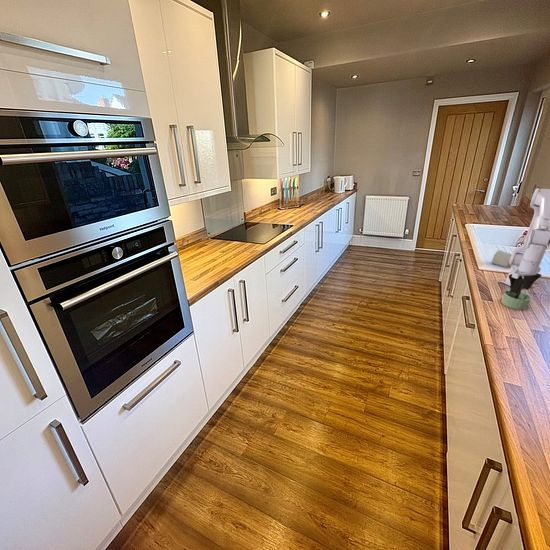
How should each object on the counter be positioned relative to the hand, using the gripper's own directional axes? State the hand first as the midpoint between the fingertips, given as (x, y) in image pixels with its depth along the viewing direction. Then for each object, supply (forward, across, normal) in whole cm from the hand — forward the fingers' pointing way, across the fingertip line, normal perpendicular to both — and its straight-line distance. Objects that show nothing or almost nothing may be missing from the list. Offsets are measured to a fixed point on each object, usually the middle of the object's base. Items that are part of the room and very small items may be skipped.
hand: (519, 290), depth 119 cm
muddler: (+6, 0, 0) cm, 6 cm away
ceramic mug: (+7, -37, -28) cm, 47 cm away
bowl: (+7, 0, 0) cm, 7 cm away
